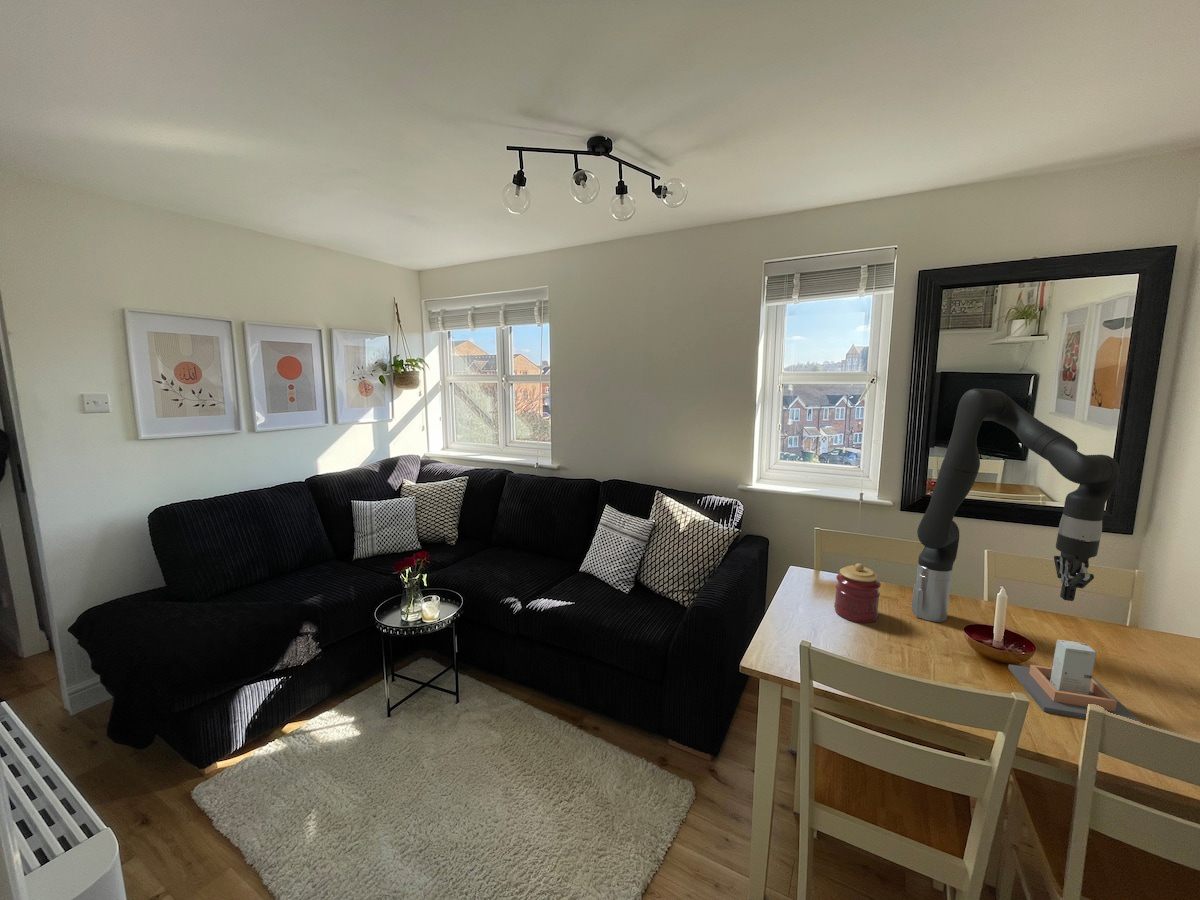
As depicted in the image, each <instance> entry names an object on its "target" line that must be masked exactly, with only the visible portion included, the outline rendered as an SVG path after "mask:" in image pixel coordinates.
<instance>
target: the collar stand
mask: <svg viewBox="0 0 1200 900" xmlns="http://www.w3.org/2000/svg"><path fill="white" fill-rule="evenodd" d="M1007 667H1008V670H1009V671H1010V672H1011V673H1012V675H1013V676H1014V677H1015V679H1016V680H1017V681H1018V682H1019V683H1020V684H1021V686H1022V687H1023V688H1024V690H1025V691H1026V692H1027V694H1029V696H1030V697H1031V698H1032V699H1033V700H1034V702H1035V703H1036V704H1037V705H1038V706H1039V708H1040V709H1041V710H1042V711H1043V712H1044V713H1049V714H1056V715H1060V716H1061V715H1062V716H1065V717H1073V718H1078V717H1079V718H1080V717H1081V718H1080V719H1085V718H1086V713H1087V706H1088V704H1096V705H1099V706H1101V707H1103V708H1104V709H1105V710H1107V711H1108V712H1110V713H1113V714H1116V715H1120V716H1123V717H1126V718H1129V719H1132V720H1135V721H1139V722H1142V721H1141V720H1140V719H1138V717H1136V716H1135V714H1133V713H1132V712H1131V711H1130V710H1129V709H1128V708H1127V707H1126V706H1125V705H1124V704H1122V702H1120V700H1118V699H1117V698H1116V697H1115V696H1114V695H1113V694H1112V693H1111V692H1110V691H1108V689H1106V688H1105V686H1103V685H1102V684H1101V683H1100V682H1099V681H1098V680H1097V679H1095V678H1094V676H1092V679H1091V684H1090V690H1089V695H1083V694H1077V693H1070V692H1064V691H1058V690H1057V689H1056V688H1055V687H1054V686H1053V685H1052V684H1051V683H1050V679H1051V673H1052V667H1050V666H1042V665H1036V664H1035V665H1034V664H1030V665H1029V666H1023V665H1016V664H1010V663H1009V664H1008V666H1007ZM1085 720H1086V719H1085Z"/></svg>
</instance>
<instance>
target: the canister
mask: <svg viewBox="0 0 1200 900" xmlns="http://www.w3.org/2000/svg"><path fill="white" fill-rule="evenodd" d="M836 580H837V583H836V585H835V598H834V599H835V600H834V605H833V607H834V612H835V613H836V614H837V615H838V616H839V617H841V618H843V619H845V620H849V621H851V622H855V623H864V624H865V623H866V624H867V623H873V622H875V621H876V620H877V619H878V615H879V602H880V601H879V600H880V595H881V593H880V590H879V589H880V588H881V582H880V581H879V576H878V574H877V573H876V572H874V571H873V569H870V568H869V567H866V566H864V565H863V564H862V563H860V562H859V563H857V562H856V563H855V565H852V564H851V565H847V566H844V567H842V568H840V569H839V573H838V574H837V575H836Z"/></svg>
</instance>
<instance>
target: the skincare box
mask: <svg viewBox="0 0 1200 900" xmlns="http://www.w3.org/2000/svg"><path fill="white" fill-rule="evenodd" d="M1096 655H1097V651H1095V650H1094V649H1093V648H1092V647H1091V646H1089V645H1088V644H1087V643H1083V642H1077V641H1072V640H1063V639H1057V640H1056V644H1055V650H1054V655H1053V661H1052V663H1053V664H1052V667H1051V668H1052V673H1051V679H1050V683H1051V684H1052V685H1053V686H1054V687H1055V688H1056V689H1057V690H1058V691H1064V692H1070V693H1077V694H1083V695H1089V690H1090V684H1091V679H1092V677H1093V673H1094V667H1095V660H1096Z"/></svg>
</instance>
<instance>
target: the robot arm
mask: <svg viewBox="0 0 1200 900" xmlns="http://www.w3.org/2000/svg"><path fill="white" fill-rule="evenodd" d="M983 421H984V422H991V421H992V422H993V423H994V422H995V423H997V424H998V425H999V424H1000V425H1001V426H1004V427H1006V428H1008V429H1009V430H1011V431H1012V432H1013V433H1014V434H1015V435H1016V437H1017V438H1018V439H1019V440H1020V442H1021V443H1022V444H1023V445H1024V446H1025V447H1026V448H1027V449H1029V450H1030V451H1032V452H1033V453H1035V454H1036V455H1038V456H1040V457H1041V458H1043V459H1044V460H1046V461H1047V462H1049V464H1050V465H1051V467H1053V468H1054V469H1055V470H1056V471H1057V472H1058V473H1059V474H1060V475H1061V476H1062V477H1064V478H1065V479H1066V480H1068V481H1070V482H1072V483H1074V484H1077V485H1079V486H1078V487H1077V489H1075V490H1073V491H1071V492H1069V493H1068V494H1067V495H1066V497H1065V500H1064V505H1063V510H1062V515H1061V518H1060V521H1059V525H1058V531H1057V535H1056V536H1057V537H1056V542H1055V549H1056V550H1057V551H1059V552H1060V555H1053V561H1054V566H1055V567H1054V568H1055V570H1056V575H1057V579H1060V583H1061V584H1062V585H1061V588H1060V589H1061V590H1060V598H1061V599H1063V600H1064V601H1068V602H1069V601H1070V602H1073V601H1075V597H1076V591H1077V589H1084V588H1085V587H1086V586H1087V585H1089V583H1091V581H1093V579H1095V575H1094V573H1089V571H1088V568H1089V567H1090V563H1089V562H1090V561H1089V560H1090V559H1092V558H1094V557H1098V553H1099V548H1100V547H1099V546H1100V543H1101V537H1102V532H1103V518H1104V515H1105V514H1104V513H1105V509H1106V503H1107V502H1108V499H1109V498H1110V496H1111V495H1112V493H1113V491H1114V489H1115V488H1116V485H1117V483H1118V481H1119V478H1120V473H1121V472H1120V466H1119V463H1118V462H1117V460H1116V459H1115V458H1113V457H1112V456H1110V455H1107V454H1084V453H1082V452H1080V451H1078V448H1079V447H1078V444H1077V443H1076V442H1075V441H1074V440H1073V439H1071V438H1069V437H1068V436H1066V435H1064V434H1063V433H1061V432H1060V431H1058V430H1056V429H1054V428H1052V427H1050V426H1049V425H1047V424H1045V423H1043V422H1042V421H1041V420H1039V419H1038V418H1037V417H1035V416H1033V415H1031V414H1030V412H1028V411H1026V410H1025V409H1024V408H1023V407H1021V406H1020V405H1019V404H1018V403H1016V401H1014V400H1013V399H1012V398H1011V397H1009V396H1008V395H1007V394H1006V393H1004V392H1003V391H1001V390H998V389H991V388H990V389H989V388H971V389H969V390H967V391H965V392H964V394H963V395H962V397H961V398H960V399H959V403H958V405H957V409H956V413H955V420H954V423H953V428H952V433H951V436H950V439H949V441H948V446H947V448H946V452H945V455H944V457H943V460H942V463H941V465H940V467H939V468H940V469H939V471H938V474H937V479H936V481H935V484H934V488H933V490H932V494H931V496H930V500H929V504H928V506H927V508H926V510H925V513H924V515H923V517H922V518H921V520H920V523H919V524H918V527H917V533H916V534H917V538H918V540H919V542H920V544H922V546H923V549H922V550H921V552H920V554H919V556H918V563H917V571H916V582H913V587H912V588H913V591H912V597H911V598H912V599H911V611H912V613H913V614H914V615H915V617H916V618H919V619H922V620H925V621H928V622H932V623H933V622H935V623H943V622H946V621H947V618H948V612H949V611H948V609H949V602H950V592H951V585H952V584H951V583H952V577H953V576H952V575H953V568H954V564H955V561H956V559H957V555H958V549H959V543H960V530H959V526H958V524H957V523H956V522H955V521H954V517H955V514H956V512H957V510H958V508H959V507H960V505H961V504H962V503H963V501H964V500H965V499H966V497H968V495H969V493H970V491H971V490H972V488H973V486H974V484H975V481H976V478H977V476H978V473H979V470H980V467H981V459H980V453H979V450H978V449H979V448H978V446H977V445H978V444H977V442H978V441H977V440H978V433H979V431H980V428H981V426H982V423H983Z"/></svg>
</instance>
